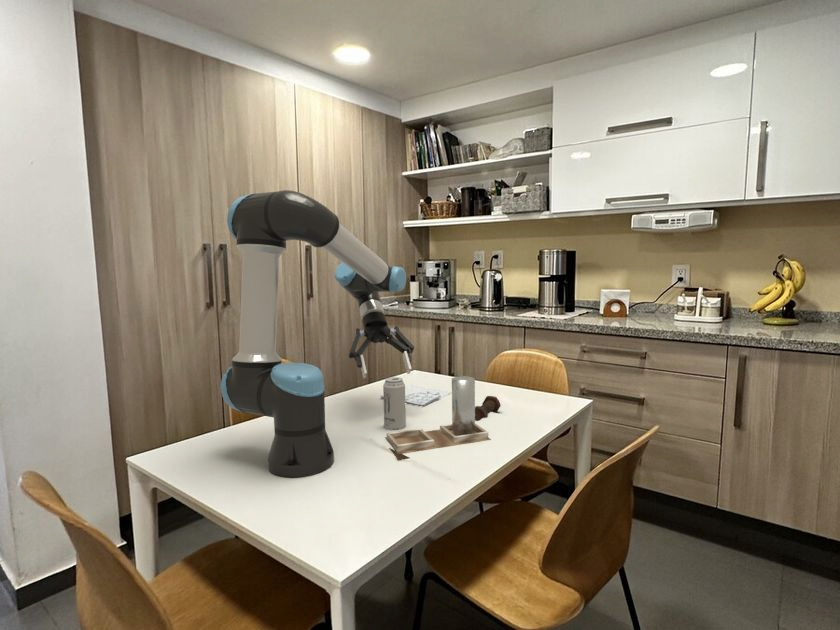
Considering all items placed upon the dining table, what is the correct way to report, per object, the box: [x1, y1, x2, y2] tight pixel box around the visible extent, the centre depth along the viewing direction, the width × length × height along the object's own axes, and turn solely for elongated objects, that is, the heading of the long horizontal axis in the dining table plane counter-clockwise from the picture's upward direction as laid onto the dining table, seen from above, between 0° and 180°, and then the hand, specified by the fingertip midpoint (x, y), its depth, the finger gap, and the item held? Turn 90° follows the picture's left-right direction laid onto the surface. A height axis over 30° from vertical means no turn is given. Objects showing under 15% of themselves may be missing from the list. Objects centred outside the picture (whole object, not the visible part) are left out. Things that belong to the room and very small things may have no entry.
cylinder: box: [451, 375, 476, 436], centre depth 125 cm, size 6×6×15 cm
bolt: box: [475, 395, 502, 422], centre depth 144 cm, size 6×5×15 cm
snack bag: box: [379, 384, 452, 407], centre depth 169 cm, size 19×20×2 cm
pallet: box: [384, 423, 492, 461], centre depth 123 cm, size 25×12×3 cm, turn 110°
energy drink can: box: [382, 376, 407, 431], centre depth 132 cm, size 6×6×15 cm
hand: (387, 373), depth 140 cm, fingers open, 13 cm apart
